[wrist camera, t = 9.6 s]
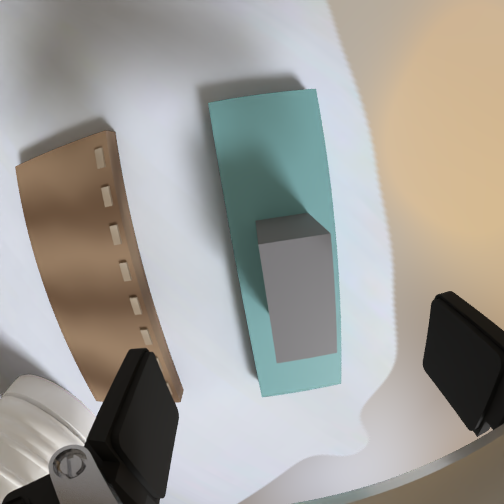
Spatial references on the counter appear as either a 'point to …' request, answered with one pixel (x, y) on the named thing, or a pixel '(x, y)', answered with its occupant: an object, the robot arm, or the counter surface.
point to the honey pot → (37, 429)
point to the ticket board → (92, 259)
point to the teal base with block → (282, 235)
